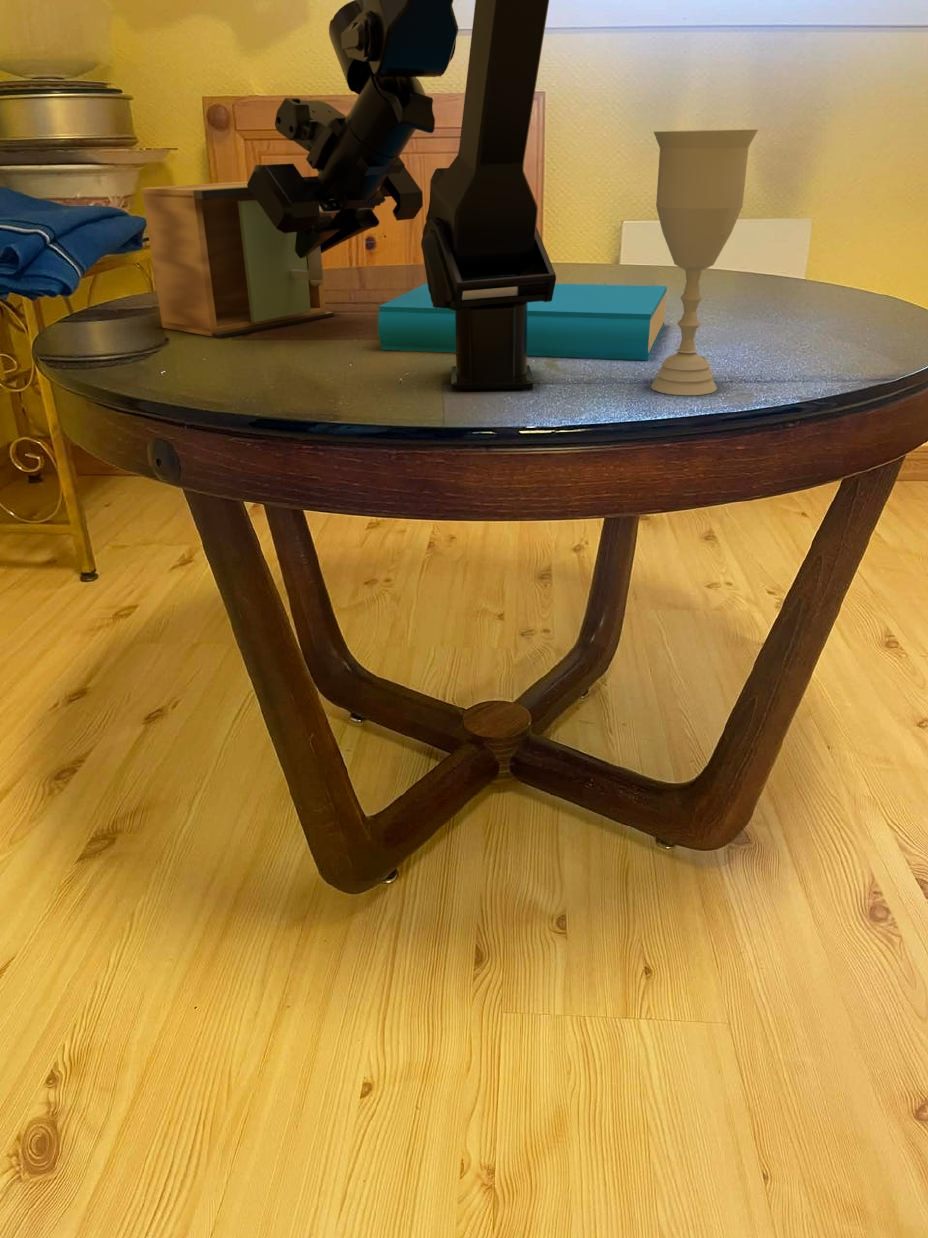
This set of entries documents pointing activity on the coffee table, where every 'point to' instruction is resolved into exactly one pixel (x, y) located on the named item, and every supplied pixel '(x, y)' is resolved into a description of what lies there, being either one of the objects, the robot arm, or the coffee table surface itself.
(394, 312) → the book
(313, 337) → the coffee table surface
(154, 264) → the cupboard
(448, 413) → the coffee table surface
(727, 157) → the chalice
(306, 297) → the door
